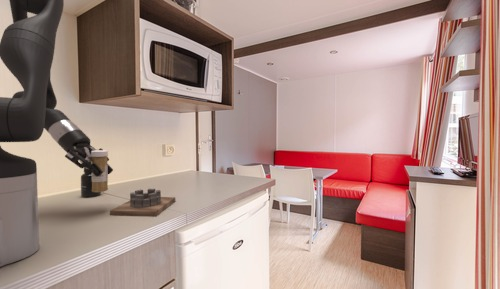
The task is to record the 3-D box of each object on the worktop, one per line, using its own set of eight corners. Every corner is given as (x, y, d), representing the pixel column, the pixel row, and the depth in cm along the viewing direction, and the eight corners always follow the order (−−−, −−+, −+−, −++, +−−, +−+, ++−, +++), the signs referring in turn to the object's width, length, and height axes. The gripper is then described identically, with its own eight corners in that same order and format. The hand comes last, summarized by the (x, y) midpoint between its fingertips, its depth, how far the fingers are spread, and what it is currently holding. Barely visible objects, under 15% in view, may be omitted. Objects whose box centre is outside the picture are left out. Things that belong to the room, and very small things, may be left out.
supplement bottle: (77, 198, 88) (76, 168, 88) (85, 193, 95) (84, 166, 94) (97, 197, 90) (96, 168, 90) (103, 192, 97) (103, 165, 96)
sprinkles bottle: (89, 193, 70) (88, 151, 70) (94, 189, 74) (94, 150, 74) (105, 192, 71) (105, 150, 71) (110, 189, 76) (109, 150, 75)
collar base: (155, 216, 70) (155, 199, 69) (109, 215, 70) (109, 198, 70) (175, 201, 86) (175, 187, 85) (137, 200, 86) (137, 186, 86)
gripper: (57, 127, 66) (97, 168, 65) (93, 129, 80) (126, 163, 80) (41, 145, 66) (80, 186, 66) (79, 144, 80) (112, 177, 80)
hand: (105, 173), depth 73 cm, fingers closed on sprinkles bottle, 4 cm apart
